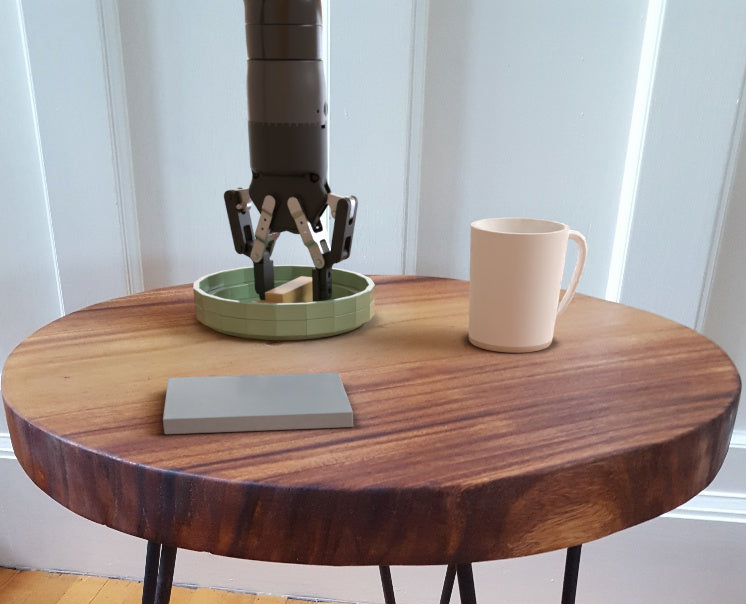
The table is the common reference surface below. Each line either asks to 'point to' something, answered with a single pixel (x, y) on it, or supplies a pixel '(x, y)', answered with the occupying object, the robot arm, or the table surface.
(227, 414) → the board
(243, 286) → the pan
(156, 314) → the table surface
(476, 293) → the mug
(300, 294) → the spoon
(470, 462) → the table surface
